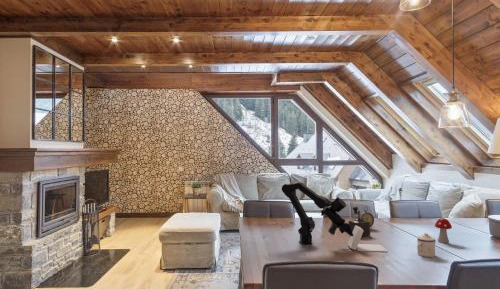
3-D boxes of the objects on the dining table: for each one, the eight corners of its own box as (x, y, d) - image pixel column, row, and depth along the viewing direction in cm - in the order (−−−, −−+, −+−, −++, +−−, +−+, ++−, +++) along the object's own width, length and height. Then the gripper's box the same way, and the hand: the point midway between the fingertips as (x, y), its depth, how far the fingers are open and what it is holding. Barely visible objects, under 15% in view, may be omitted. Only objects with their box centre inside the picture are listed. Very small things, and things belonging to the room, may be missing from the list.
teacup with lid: (423, 251, 204) (423, 231, 205) (439, 255, 197) (439, 234, 197) (410, 254, 198) (410, 233, 198) (426, 259, 190) (425, 236, 191)
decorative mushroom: (431, 241, 230) (431, 217, 230) (441, 240, 233) (441, 216, 233) (445, 244, 220) (444, 220, 221) (455, 243, 223) (455, 219, 224)
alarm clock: (361, 229, 262) (361, 207, 262) (357, 228, 267) (357, 206, 267) (374, 229, 265) (374, 206, 265) (370, 227, 270) (370, 205, 270)
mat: (358, 251, 205) (358, 250, 205) (353, 244, 219) (353, 243, 219) (387, 252, 203) (387, 251, 203) (381, 245, 217) (381, 244, 217)
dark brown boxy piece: (371, 236, 243) (371, 209, 243) (358, 237, 238) (358, 209, 238) (355, 231, 257) (355, 205, 257) (343, 232, 252) (343, 206, 253)
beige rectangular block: (350, 248, 207) (358, 228, 207) (347, 243, 217) (355, 225, 217) (355, 250, 207) (363, 230, 207) (352, 245, 217) (360, 227, 217)
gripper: (322, 222, 222) (340, 241, 221) (325, 228, 204) (345, 249, 202) (335, 210, 222) (353, 229, 220) (339, 215, 203) (359, 235, 202)
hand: (352, 235), depth 211 cm, fingers closed
